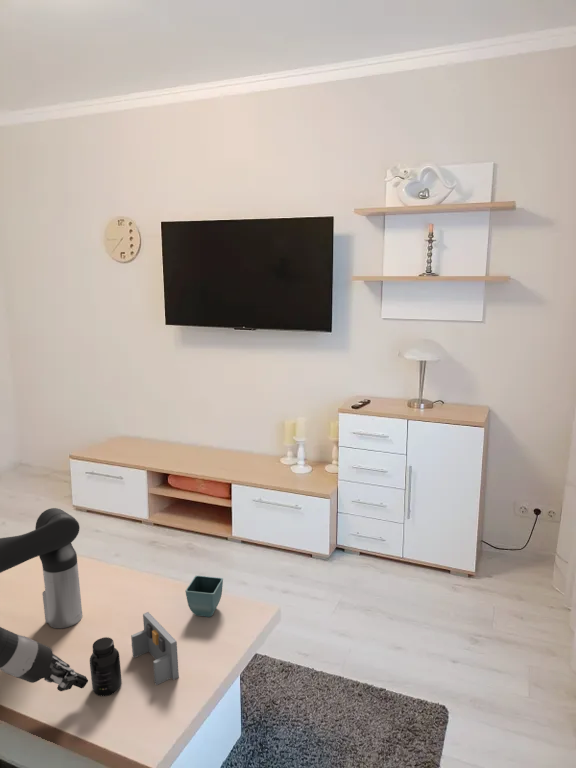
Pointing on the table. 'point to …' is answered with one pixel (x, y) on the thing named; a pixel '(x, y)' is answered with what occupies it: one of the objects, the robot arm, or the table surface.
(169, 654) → the panel
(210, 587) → the flower pot
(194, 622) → the table surface
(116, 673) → the supplement bottle
